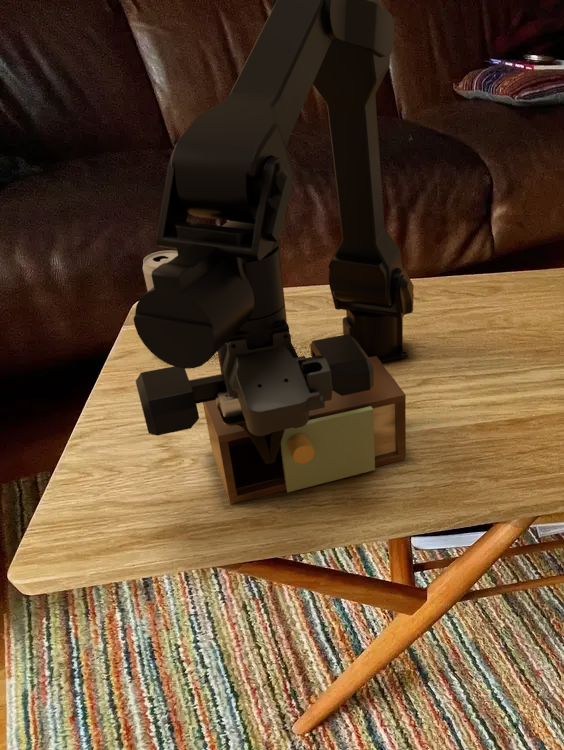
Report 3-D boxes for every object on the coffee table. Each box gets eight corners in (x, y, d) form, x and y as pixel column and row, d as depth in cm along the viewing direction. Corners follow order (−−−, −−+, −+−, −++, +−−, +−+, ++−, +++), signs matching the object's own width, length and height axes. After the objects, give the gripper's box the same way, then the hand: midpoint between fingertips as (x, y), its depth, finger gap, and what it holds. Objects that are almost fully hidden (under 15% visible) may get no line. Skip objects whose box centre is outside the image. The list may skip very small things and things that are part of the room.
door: (373, 466, 77) (371, 405, 72) (382, 481, 75) (381, 420, 70) (285, 489, 73) (277, 426, 69) (293, 505, 72) (285, 442, 67)
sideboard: (378, 418, 84) (376, 355, 79) (405, 459, 78) (405, 394, 74) (213, 456, 78) (200, 390, 73) (230, 504, 72) (217, 436, 67)
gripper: (134, 378, 50) (177, 547, 60) (397, 329, 57) (398, 488, 66) (116, 306, 58) (156, 465, 68) (348, 270, 65) (355, 420, 74)
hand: (269, 460), depth 69 cm, fingers closed
